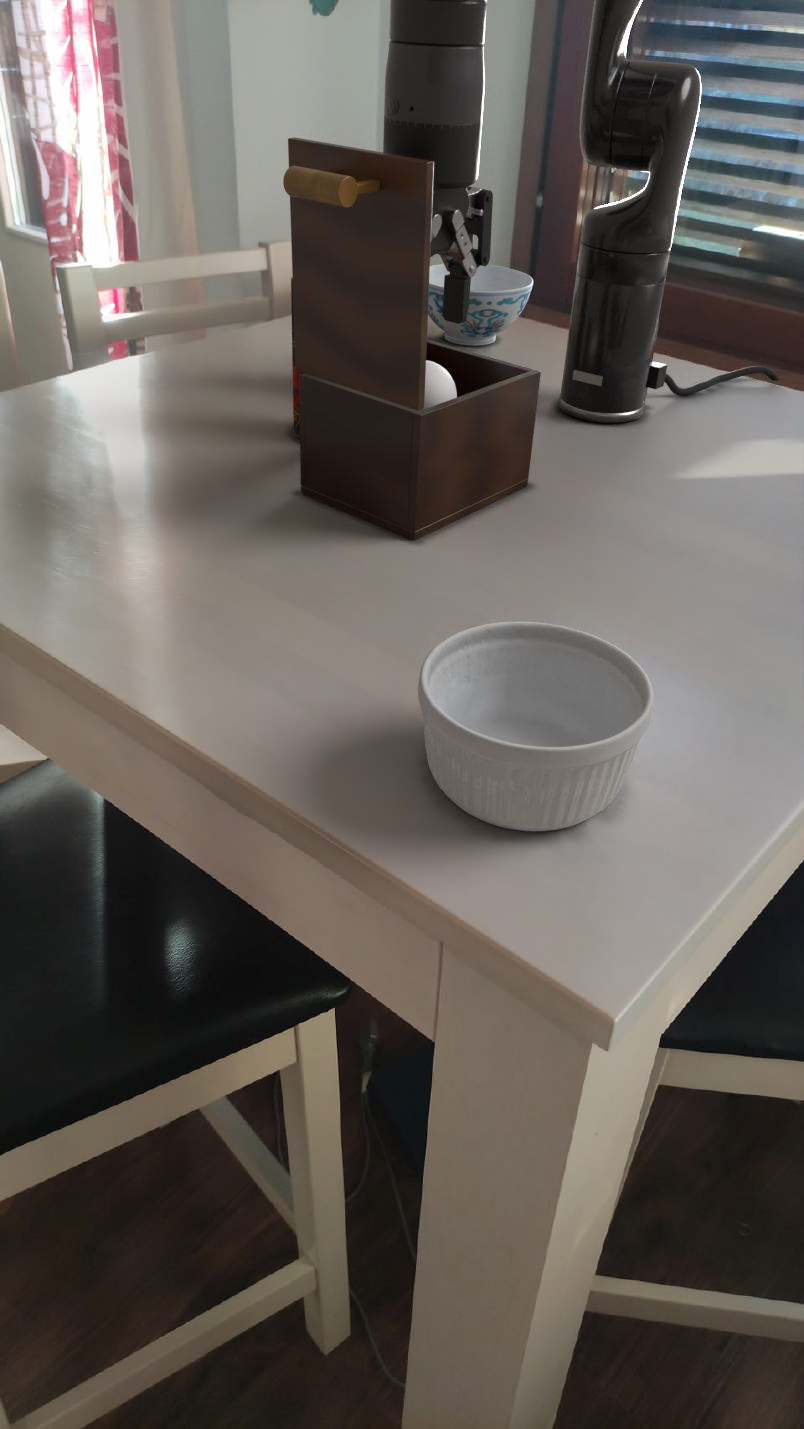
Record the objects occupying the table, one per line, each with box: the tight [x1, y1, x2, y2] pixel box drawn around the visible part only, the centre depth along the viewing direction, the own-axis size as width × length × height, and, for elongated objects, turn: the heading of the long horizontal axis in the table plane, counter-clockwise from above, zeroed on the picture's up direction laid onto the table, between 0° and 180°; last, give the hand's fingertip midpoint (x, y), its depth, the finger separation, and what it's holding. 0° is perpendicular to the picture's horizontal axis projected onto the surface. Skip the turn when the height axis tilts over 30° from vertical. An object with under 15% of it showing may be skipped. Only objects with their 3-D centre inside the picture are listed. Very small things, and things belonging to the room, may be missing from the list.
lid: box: [282, 137, 434, 411], centre depth 79 cm, size 17×14×5 cm
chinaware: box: [428, 263, 534, 347], centre depth 137 cm, size 15×15×8 cm
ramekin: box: [417, 620, 655, 832], centre depth 61 cm, size 13×13×7 cm
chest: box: [299, 338, 542, 541], centre depth 95 cm, size 17×14×11 cm
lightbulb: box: [419, 360, 457, 411], centre depth 94 cm, size 6×6×11 cm
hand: (423, 330), depth 90 cm, fingers open, 8 cm apart
